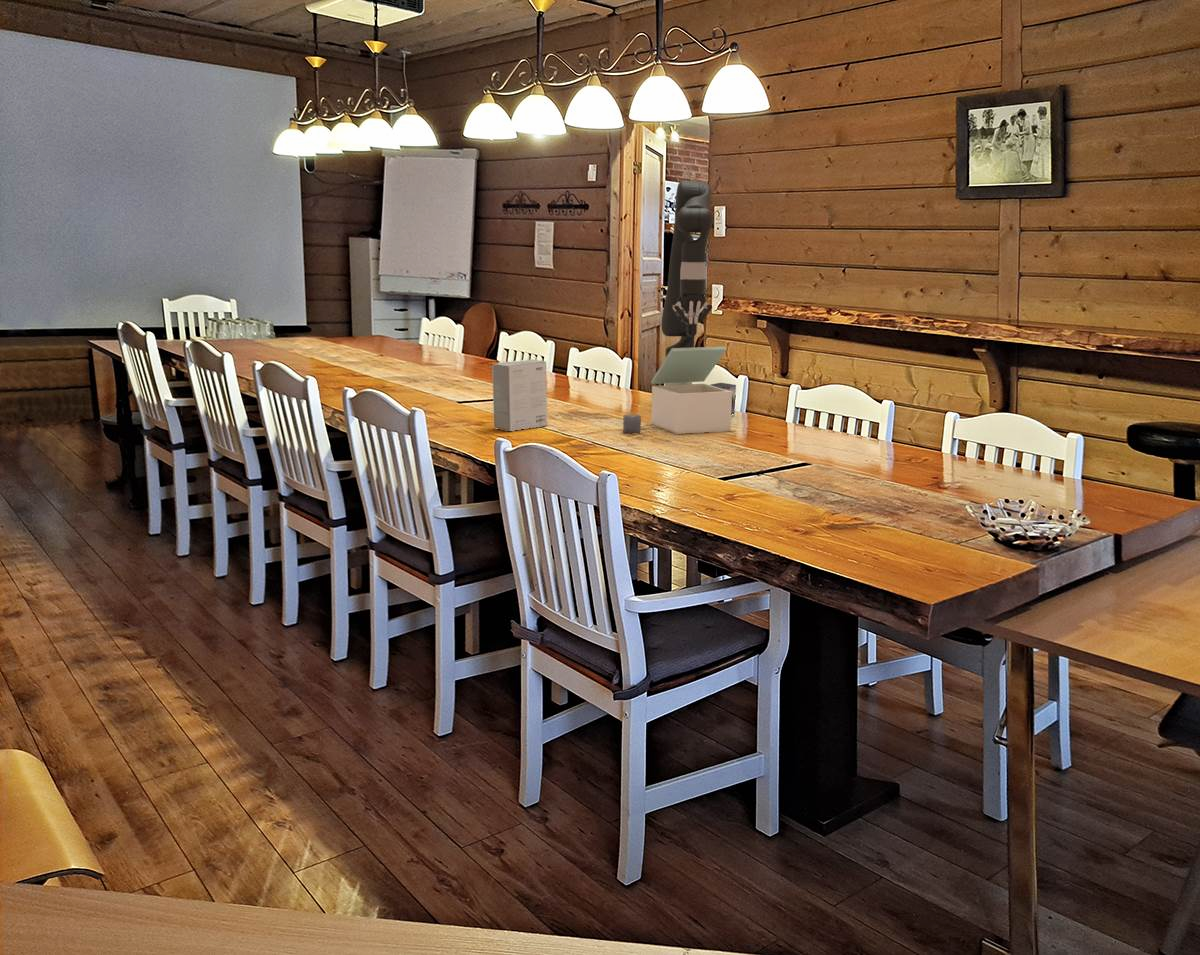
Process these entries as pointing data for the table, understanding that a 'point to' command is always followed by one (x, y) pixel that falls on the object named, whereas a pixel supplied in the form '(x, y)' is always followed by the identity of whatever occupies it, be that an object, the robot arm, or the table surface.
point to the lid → (688, 365)
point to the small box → (730, 388)
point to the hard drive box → (519, 394)
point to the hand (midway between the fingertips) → (691, 336)
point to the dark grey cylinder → (631, 423)
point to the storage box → (691, 408)
